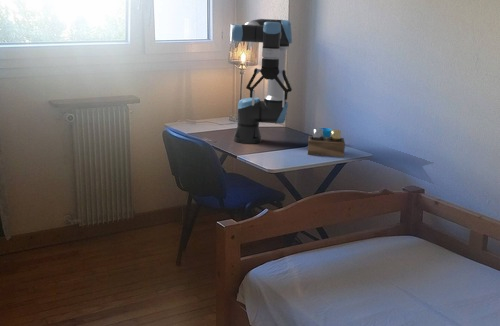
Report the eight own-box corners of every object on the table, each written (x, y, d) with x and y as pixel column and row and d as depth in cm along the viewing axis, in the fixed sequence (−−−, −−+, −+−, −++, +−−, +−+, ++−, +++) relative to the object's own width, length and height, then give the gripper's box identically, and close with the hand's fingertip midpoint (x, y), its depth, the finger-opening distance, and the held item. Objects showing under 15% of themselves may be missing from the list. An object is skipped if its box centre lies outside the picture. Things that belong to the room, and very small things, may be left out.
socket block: (307, 148, 298) (308, 135, 296) (342, 151, 296) (343, 137, 294) (307, 154, 286) (308, 140, 285) (343, 156, 285) (344, 142, 283)
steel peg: (312, 140, 293) (313, 128, 291) (322, 141, 293) (323, 128, 291) (312, 143, 288) (313, 130, 286) (322, 143, 288) (323, 130, 286)
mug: (313, 143, 311) (314, 128, 309) (323, 141, 317) (324, 127, 314) (330, 147, 303) (331, 132, 300) (339, 145, 308) (341, 131, 306)
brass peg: (329, 142, 292) (331, 129, 290) (339, 142, 292) (340, 129, 290) (330, 144, 287) (331, 131, 286) (340, 144, 287) (341, 131, 285)
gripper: (241, 57, 247) (239, 105, 253) (298, 60, 244) (295, 109, 250) (243, 55, 254) (241, 102, 260) (299, 58, 252) (296, 106, 257)
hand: (268, 106), depth 255 cm, fingers open, 13 cm apart
